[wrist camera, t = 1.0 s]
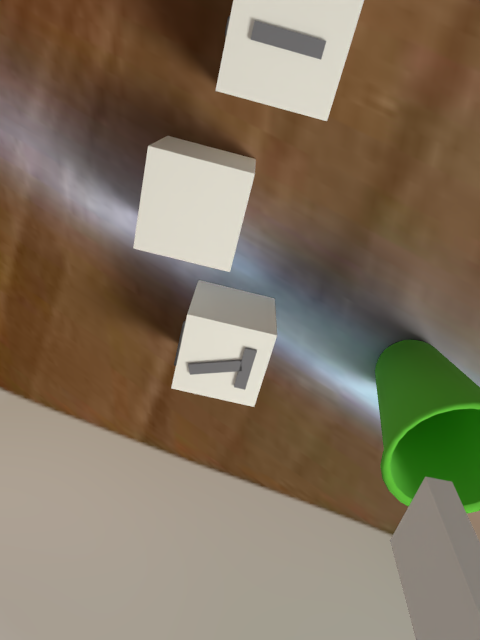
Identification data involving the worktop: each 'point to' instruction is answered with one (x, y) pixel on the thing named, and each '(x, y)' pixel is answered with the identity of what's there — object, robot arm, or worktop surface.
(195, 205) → the plain block
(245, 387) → the letter t cube
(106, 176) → the worktop surface
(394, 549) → the robot arm
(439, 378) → the cup
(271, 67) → the digit block 1
